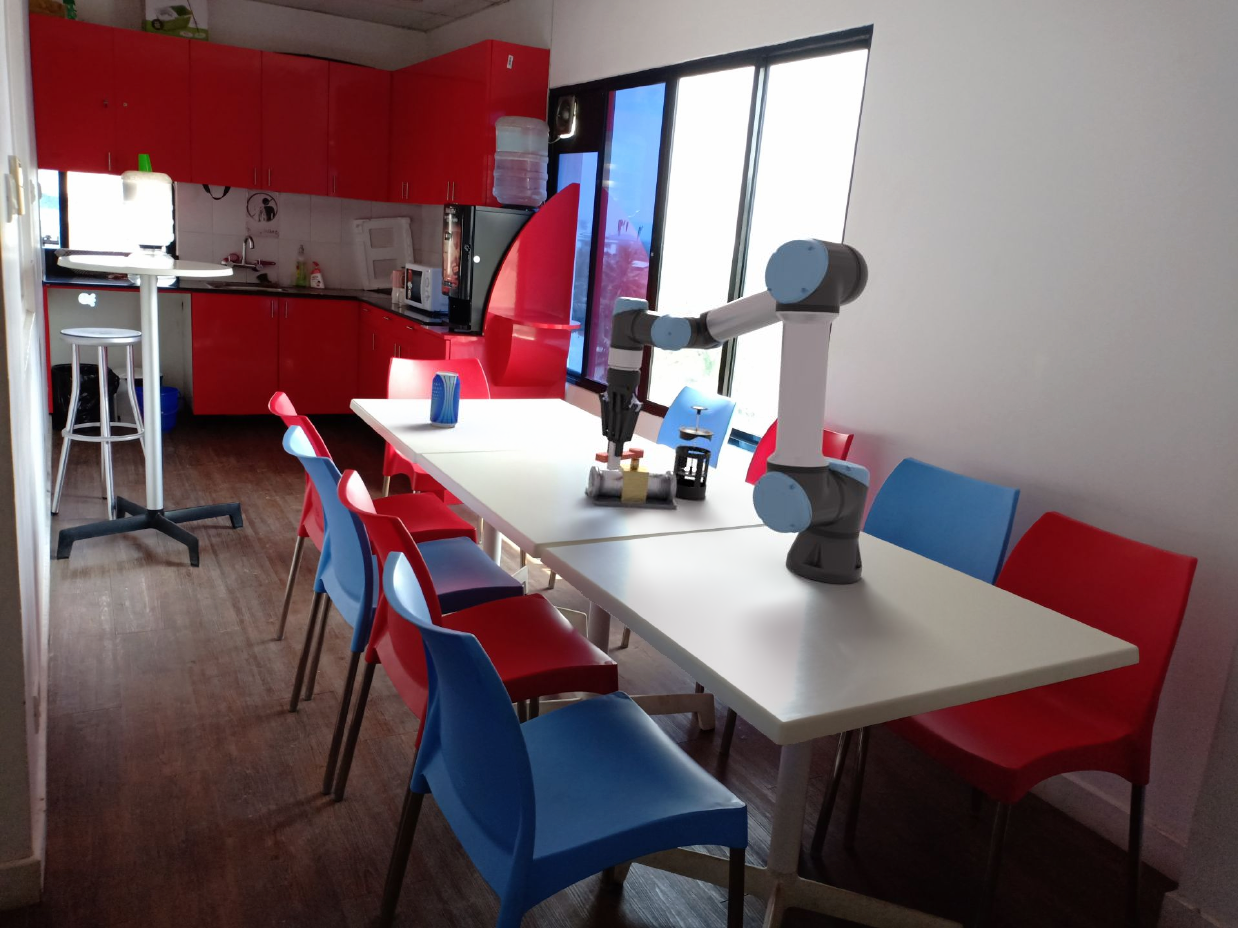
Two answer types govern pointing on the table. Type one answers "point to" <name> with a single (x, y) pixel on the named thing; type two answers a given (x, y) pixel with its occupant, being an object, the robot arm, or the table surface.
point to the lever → (626, 455)
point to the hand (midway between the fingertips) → (613, 469)
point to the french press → (690, 487)
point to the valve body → (632, 487)
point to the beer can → (445, 399)
